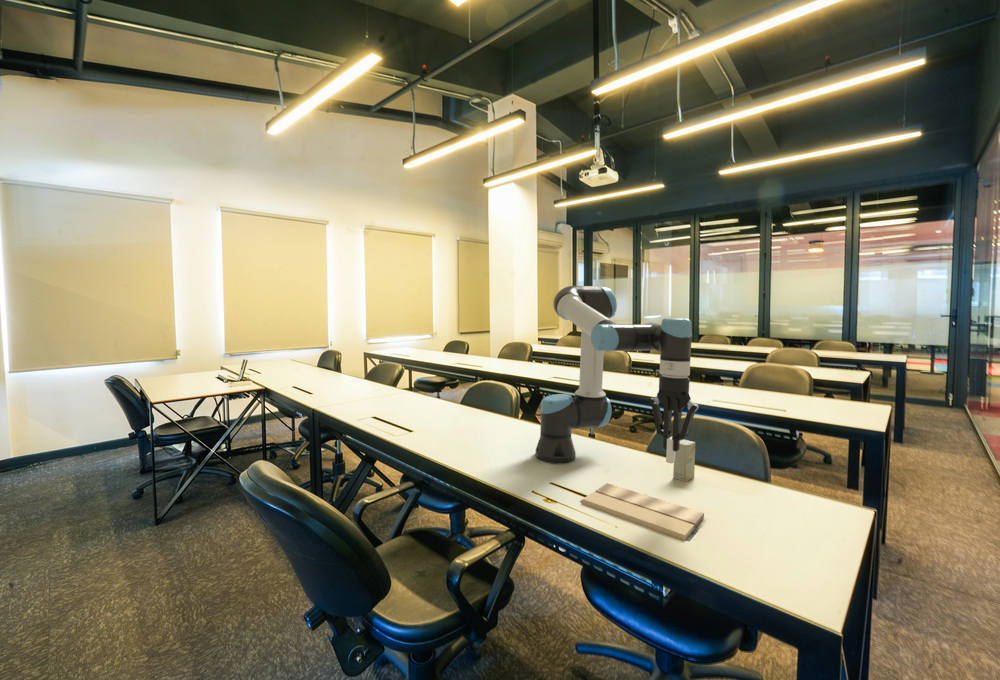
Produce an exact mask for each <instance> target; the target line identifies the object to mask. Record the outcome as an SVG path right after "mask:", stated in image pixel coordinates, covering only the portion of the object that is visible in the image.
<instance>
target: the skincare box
mask: <svg viewBox="0 0 1000 680" xmlns="http://www.w3.org/2000/svg"><path fill="white" fill-rule="evenodd" d="M695 459H696V441H691V440H688V439H685V438H684V439H680V446H679V450H678V451H677V452H676V455H675V462H673V474H672V475H673V478H674V479H677V480H680V481H683V482H687V481H689V480H692V479H694V478H695V466H696V465H695V463H696V462H695V461H696V460H695Z"/></svg>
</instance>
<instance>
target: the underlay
mask: <svg viewBox="0 0 1000 680" xmlns="http://www.w3.org/2000/svg"><path fill="white" fill-rule="evenodd" d="M581 499H582V500H580V501H579V503H582V504H584V505H587V506H589V507H592V508H595V509H598V510H600V511H603V512H605V513H606V512H607V513H609V514H612V515H615V516H616V517H620V518H623V519H626V520H627V521H631V522H634V523H636V524H639V525H643V526H645V527H647V528H650V529H653V530H656V531H659V532H661V533H665V534H667V535H670V536H672V537H676V538H679V539H681V540H683V541H687V542H690V541H691V540H692V539H693V538H694V537H695V535H696V533H698V531H700V529H699V527H696V528H694V525H693V524H690V523H687V522H684V521H681V520H678V519H675V518H672V517H669V516H666V515H663V514H660V513H657V512H654V511H651V510H648V509H645V508H642V507H639V506H636V505H633V504H630V503H627V502H624V501H621V500H618V499H615V498H612V497H609V496H606V495H603V494H600V493H597V492H596V491H593V492H591V493H590V494H588V495H586V496H585V497H583V498H581ZM706 521H707V519H704V522H703V521H701V522H700V527H703V525H704V524H705V523H706Z"/></svg>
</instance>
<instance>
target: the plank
mask: <svg viewBox="0 0 1000 680" xmlns="http://www.w3.org/2000/svg"><path fill="white" fill-rule="evenodd" d="M595 492H597V493H600V494H603V495H606V496H609V497H612V498H615V499H618V500H621V501H624V502H627V503H630V504H633V505H636V506H639V507H642V508H645V509H648V510H651V511H654V512H657V513H660V514H663V515H666V516H669V517H672V518H675V519H678V520H681V521H684V522H687V523H690V524H693V525H694V529H697V527H698V526H699V525H700V524H701V522H702V521H703V520H704V519H705V512H702V511H699V510H696V509H692V508H689V507H686V506H682V505H680V504H676V503H672V502H670V501H666V500H663V499H659V498H656V497H653V496H650V495H647V494H643V493H641V492H637V491H634V490H631V489H627V488H626V487H625V488H624V487H622V486H618V485H614V484H611V483H608V482H607V483H605V484H603V485H602V486H601V487H599V488H598V489H596V490H595Z"/></svg>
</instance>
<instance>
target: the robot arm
mask: <svg viewBox="0 0 1000 680" xmlns="http://www.w3.org/2000/svg"><path fill="white" fill-rule="evenodd" d="M617 304H618V303H617V297H616V296H615V294H614V292H613V290H612V289H611V288H609V287H607V286H599V285H596V286H595V285H569V286H565V287H563V288H562V289H560V290H559V291H558V292H557V293H556V294H555V296H554V298H553V304H552V305H553V310H554V311H555V313H556V314H557V316H558V317H560V318H561V319H562V320H564V321H565V320H566V321H570V322H571V323H572V324H574V325H575V326H576V327H577V328H579V329H580V330H581V331H580V332H581V333H580V334H581V336H580V337H581V338H580V357H579V358H580V359H579V360H580V361H579V363H580V365H579V381H578V383H579V384H578V385H579V387H578V389H577V390H576V391H575V392H574V397H572V395H571V394H567V393H557V394H550V395H547V396H545V397H543V399H542V400H541V403H540V411H539V412H540V435H539V438H538V442H537V444H536V448H535V458H536V459H537V460H539V461H541V462H544V463H548V464H555V465H556V464H568V463H569V464H570V463H571V462H575V460H576V455H577V453H576V449H575V446H574V443H573V439H572V438H573V437H572V430H577V429H580V430H581V429H596V428H602V427H605V426H607V424H608V423H609V422H610V420H611V417H612V411H613V410H612V405H611V400H610V399H609V398H608V396H607V393H606V392H605V391H604V389H603V379H604V378H603V377H604V375H603V374H604V357H605V356H604V355H605V352H608V353H609V352H617V351H618V352H627V351H633V352H634V351H655V352H660V353H659V357H660V358H659V374H661V375H660V376H659V379H658V391H657V394H656V395H655V396H654V397H651V398H648V402H649V404H650V406H651V411H652V414H653V419H654V420H653V421H654V426H655V431H656V433H657V435H660V436H662V437H663V445H662V447H663V449H665V450H666V453H665V454H666V455H665V456H666V457H665V459H666V460H665V462H666V463H667V464H668V463H669V464H671V465H672V464H674V462H675V455H676V452H677V451H678V450H679V446H680V440H683V439H684V440H685V439H686V438H687V437H688V435H689V433H690V429H691V426H692V424H693V419H694V416H695V413H696V412H697V411H698V410H699V408H700V404H698V403H695V402H693V401H692V400H691V396H690V394H689V393H690V378H689V376H690V375H691V355H692V354H691V353H692V337H693V332H692V329H693V328H692V324H693V323H692V321H691V319H689V318H676V317H675V318H669V317H668V318H663V319H662V320H661V324H653V323H642V324H638V323H637V324H630V323H629V324H628V323H627V324H626V323H624V324H623V323H617V322H616V321H613V320H611V318H613V317H614V316H615V314H616V312H617V308H618V305H617ZM660 404H661V405H662V407H663V417H662V411H661V406H660ZM686 406H687V410H688V411H687V412H686V415H685V419H684V420H683V421H684V422H683V424H682V414H683V410H684V409H685V407H686ZM672 415H673V418H672ZM672 419H673V420H672ZM672 421H673V423H672ZM672 424H673V425H672Z"/></svg>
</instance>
